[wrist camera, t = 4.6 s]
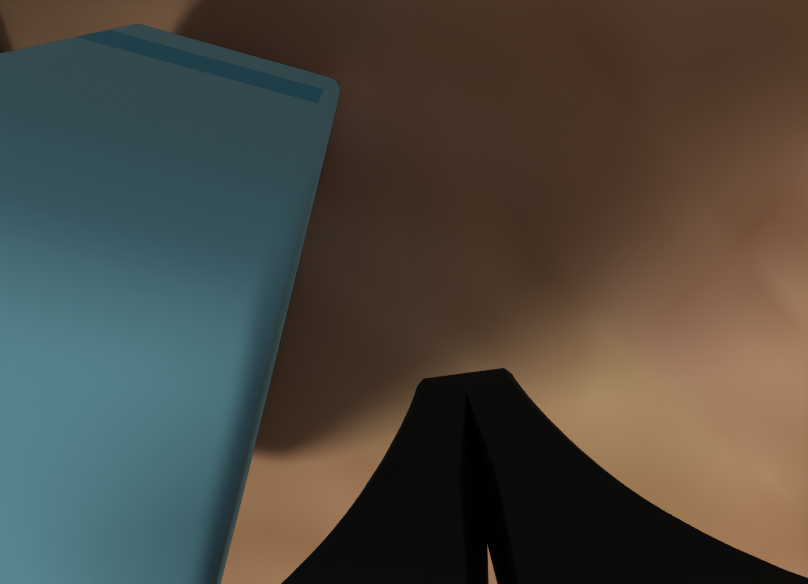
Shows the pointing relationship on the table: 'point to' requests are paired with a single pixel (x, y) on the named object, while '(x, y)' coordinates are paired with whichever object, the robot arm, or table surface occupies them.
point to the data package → (143, 295)
